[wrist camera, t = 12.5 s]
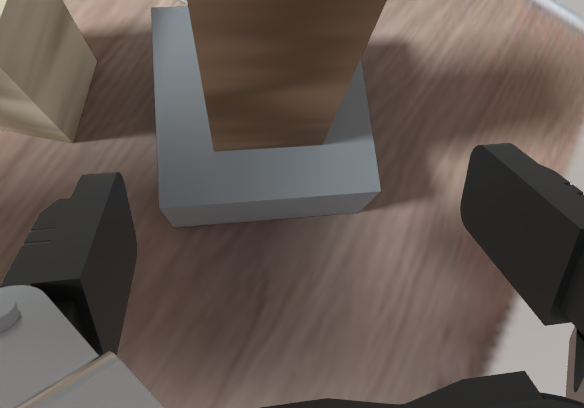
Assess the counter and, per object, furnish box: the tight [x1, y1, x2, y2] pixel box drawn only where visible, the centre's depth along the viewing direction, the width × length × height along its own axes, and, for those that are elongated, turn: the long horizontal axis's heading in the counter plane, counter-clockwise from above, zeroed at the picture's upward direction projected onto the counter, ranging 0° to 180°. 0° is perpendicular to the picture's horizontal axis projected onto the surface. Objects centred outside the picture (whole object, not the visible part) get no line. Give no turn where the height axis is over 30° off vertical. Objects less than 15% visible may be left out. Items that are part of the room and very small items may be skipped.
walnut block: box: [187, 0, 387, 152], centre depth 15 cm, size 4×4×10 cm
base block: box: [151, 7, 381, 228], centre depth 22 cm, size 9×9×4 cm
